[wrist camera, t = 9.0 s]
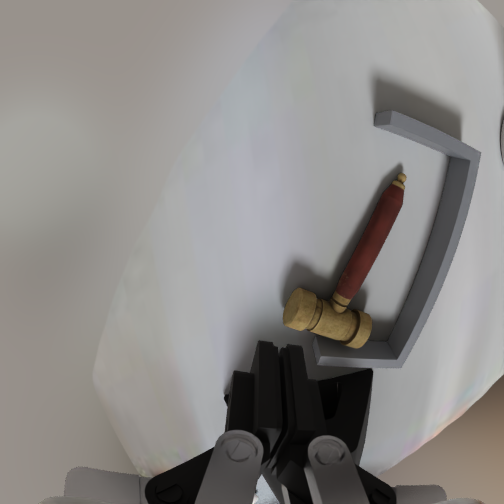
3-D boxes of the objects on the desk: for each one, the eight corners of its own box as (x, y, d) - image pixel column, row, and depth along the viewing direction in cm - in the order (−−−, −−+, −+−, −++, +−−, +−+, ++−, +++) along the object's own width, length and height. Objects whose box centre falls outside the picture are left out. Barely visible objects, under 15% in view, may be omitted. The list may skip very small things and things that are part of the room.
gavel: (376, 150, 25) (445, 197, 26) (359, 151, 29) (423, 192, 30) (284, 333, 30) (357, 356, 32) (280, 312, 35) (347, 335, 36)
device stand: (371, 366, 38) (403, 445, 24) (363, 438, 46) (379, 497, 32) (224, 393, 40) (215, 477, 26) (254, 457, 48) (254, 518, 34)
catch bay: (461, 149, 26) (481, 152, 23) (391, 350, 37) (401, 368, 33) (376, 113, 26) (392, 110, 22) (312, 344, 36) (317, 365, 32)
